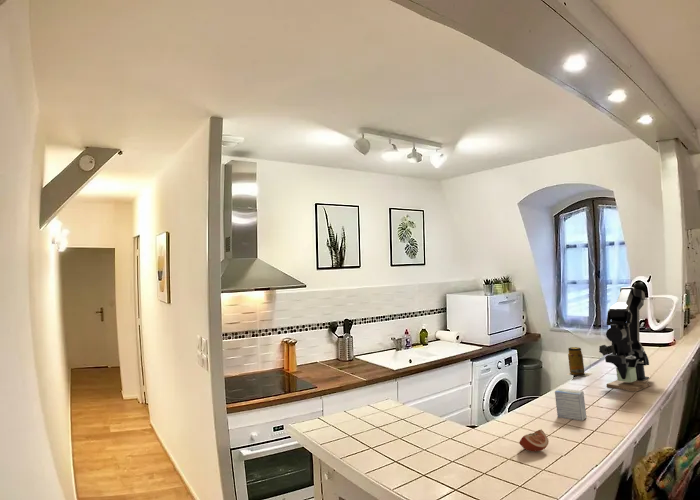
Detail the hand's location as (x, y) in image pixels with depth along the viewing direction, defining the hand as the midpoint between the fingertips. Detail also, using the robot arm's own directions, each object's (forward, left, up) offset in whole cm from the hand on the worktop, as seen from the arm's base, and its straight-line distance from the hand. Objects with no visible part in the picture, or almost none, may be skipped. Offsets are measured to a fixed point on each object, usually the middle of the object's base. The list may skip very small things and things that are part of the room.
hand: (626, 377), depth 175 cm
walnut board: (0, 0, -4) cm, 4 cm away
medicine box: (+49, +5, -4) cm, 49 cm away
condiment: (-9, -25, -4) cm, 27 cm away
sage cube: (0, 0, -1) cm, 1 cm away
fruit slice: (+81, +13, -4) cm, 82 cm away
